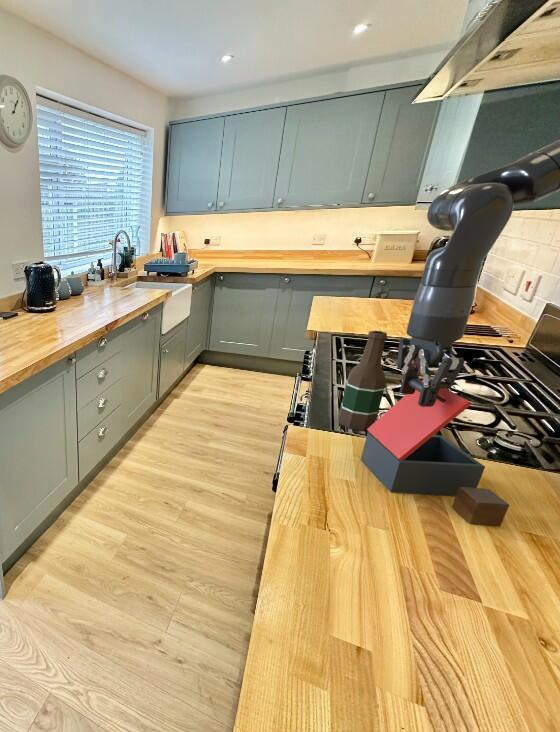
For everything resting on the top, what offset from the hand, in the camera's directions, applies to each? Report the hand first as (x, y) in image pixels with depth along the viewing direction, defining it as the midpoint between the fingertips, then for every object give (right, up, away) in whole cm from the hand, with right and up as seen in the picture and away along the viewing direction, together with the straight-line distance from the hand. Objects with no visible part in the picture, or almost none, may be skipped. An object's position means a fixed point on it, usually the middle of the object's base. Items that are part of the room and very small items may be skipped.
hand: (415, 399), depth 78 cm
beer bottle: (+9, -7, +27) cm, 29 cm away
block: (+6, -20, -5) cm, 22 cm away
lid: (+1, -4, +1) cm, 4 cm away
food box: (+4, -16, +6) cm, 18 cm away
